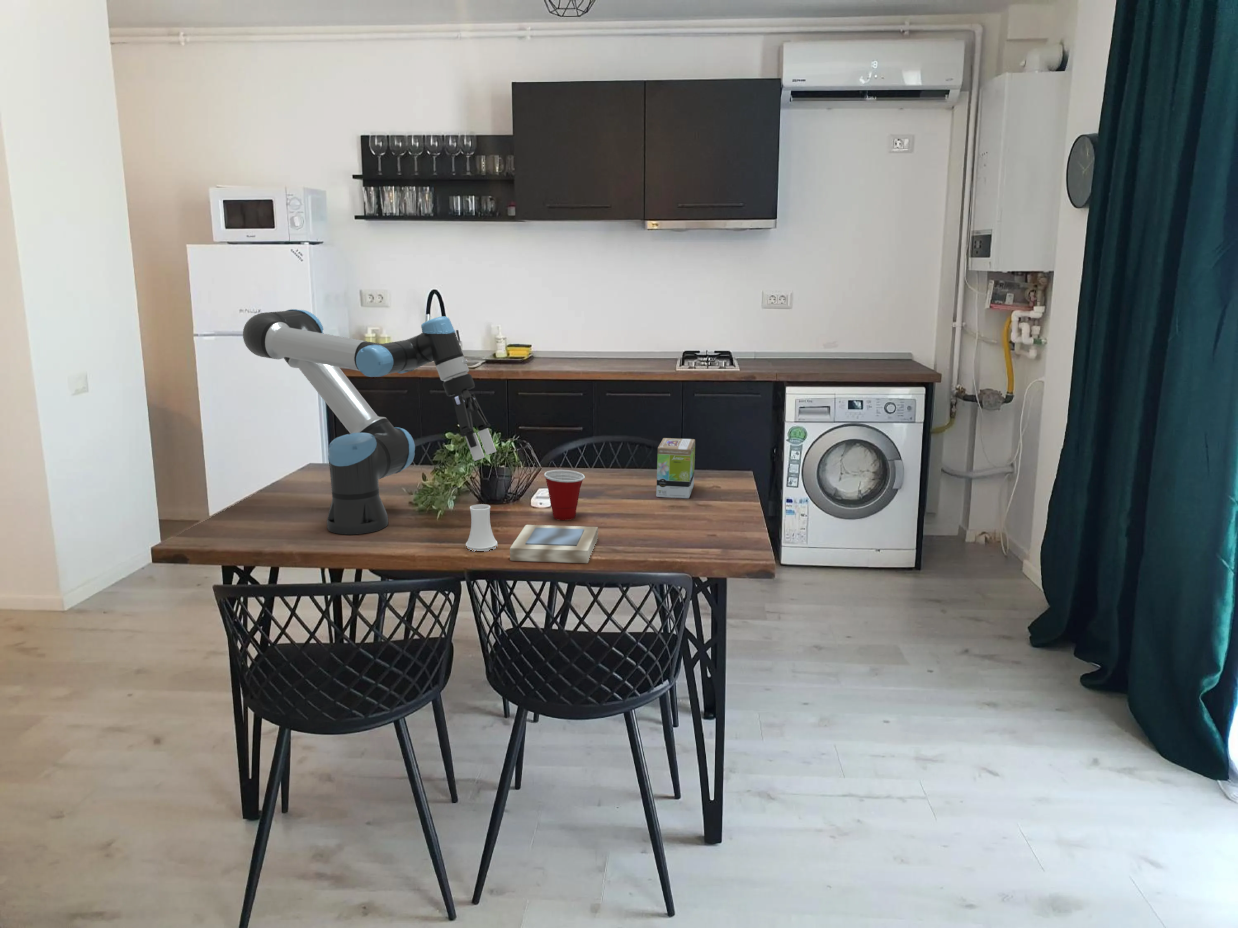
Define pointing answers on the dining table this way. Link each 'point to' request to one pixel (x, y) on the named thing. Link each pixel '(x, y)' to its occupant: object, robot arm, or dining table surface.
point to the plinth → (554, 544)
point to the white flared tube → (481, 529)
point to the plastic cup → (564, 492)
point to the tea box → (675, 468)
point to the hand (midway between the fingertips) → (485, 456)
